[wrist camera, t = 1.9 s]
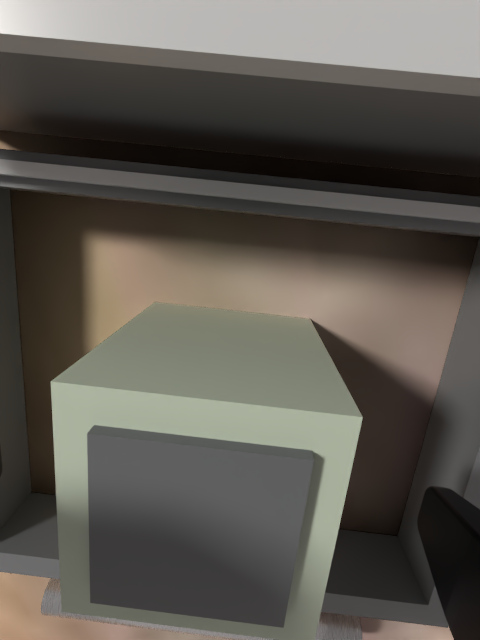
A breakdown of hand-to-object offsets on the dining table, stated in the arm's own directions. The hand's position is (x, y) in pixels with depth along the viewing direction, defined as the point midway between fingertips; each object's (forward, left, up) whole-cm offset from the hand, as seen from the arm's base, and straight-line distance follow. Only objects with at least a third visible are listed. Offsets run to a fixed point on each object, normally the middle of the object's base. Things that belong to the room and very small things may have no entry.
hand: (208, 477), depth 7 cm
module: (0, 0, -5) cm, 5 cm away
